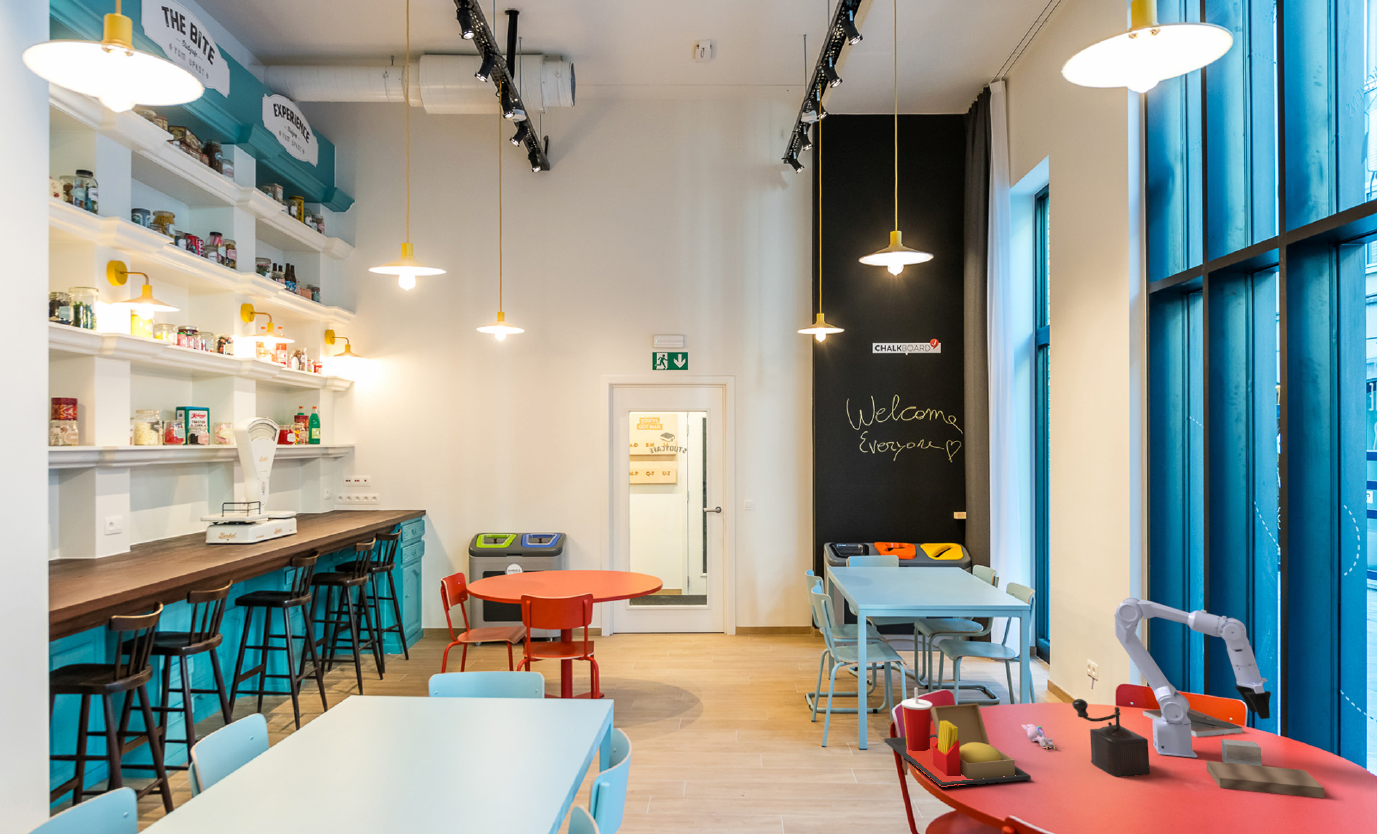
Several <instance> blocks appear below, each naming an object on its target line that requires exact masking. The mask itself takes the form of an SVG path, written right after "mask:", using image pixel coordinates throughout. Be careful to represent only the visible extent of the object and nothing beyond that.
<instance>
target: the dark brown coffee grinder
mask: <svg viewBox="0 0 1377 834" xmlns="http://www.w3.org/2000/svg"><path fill="white" fill-rule="evenodd" d="M1071 704H1072V707H1073V709H1074V710H1075V711H1076V712H1077V714H1076V715H1077V717H1079V718H1082V719H1085V720H1086V721H1089V722H1094V723H1095V722H1096V723H1097V722H1098V723H1099V722H1104V721H1108V722H1107V724H1108V725H1107V726H1102V727H1100V728H1090V729H1089V732H1090V733H1089V734H1090V736H1089V737H1090V751H1091V755H1090V756H1091V760H1090V763H1092V764H1093V765H1094V766H1095V767H1096V766H1097V767H1096V768H1097V769H1099V770H1101V769H1102V771H1103V772H1105V773H1106V774H1108V775H1110V776H1113V777H1115V778H1116V777H1117V778H1123V777H1122V776H1127V777H1135V775H1138V776H1144V775H1143V774H1146V775H1150V774H1151V768H1150V756H1149V755H1150V754H1149V740H1148V738H1146V737H1144V736H1142V735H1141V734H1138V733H1136V732H1134V731H1132V730H1129V729H1127V728H1126V727H1124V726H1122V725H1121V724H1120V723H1121V722H1120V716H1121V712H1120V711H1121V710H1120V707H1119V706H1116V707H1114V713H1113V714H1111V715H1108V716H1104V717H1096V718H1092V717H1088V716H1089V713H1088V712H1087V709H1088V707H1089V706H1088V705H1089V704H1088V702H1087V701H1086V700H1085V699H1082V698H1077V699H1075V700H1073V702H1072V703H1071ZM1113 719H1115V724H1112V722H1110V721H1109V720H1113ZM1120 776H1121V777H1120Z"/></svg>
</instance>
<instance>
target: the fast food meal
mask: <svg viewBox="0 0 1377 834" xmlns="http://www.w3.org/2000/svg"><path fill="white" fill-rule="evenodd" d="M913 690H914V698H908V699H903V700H901V703H900V704H901V707H902V714H903V715H902V716H903V724H904V725H903V726H904V730H905V731H904V732H905V736H901V737H888V738H884V743H886V745H888V746H889V747H890V748H892V749H893V750H894V751H895V752H897V753H898V754H899V755H900V756H901V757H902V758H903V759H905V760H906V761H907V762H909V761H910V762H911V763H912V764H914V765H915V766H917V767H918V768H919V769H921V770H922V771H924V772H925V773H926V774H927V775H928V776H930V777H931V778H932V779H933V780H934V781H935V782H937V783H938V784H940V785H941V786H947V785H954V784H957V785H958V784H977V785H986V783H988V784H997V783H996V782H998V783H1007V782H1008V783H1009V782H1019V781H1028V780H1029V781H1030V780H1032V776H1031V775H1030V774H1029V773H1027V772H1025V771H1024V770H1022V769H1021V768H1019V767H1018V766H1016V765H1015V759H1014V758H1012V757H1010V756H1009V755H1008V754H1006V753H1004V751H1001V750H999V748H996V747H995V746H993V745H992V744H991V742H990V741H989V737H988V733H987V730H986V726H985V723H984V719H983V717H982V713H981V708H980V706H979V703H978V702H976V703H964V704H963V703H962V704H953V705H952V704H951V705H950V704H949V705H937V706H933V703H932V702H931V701H929V700H925V699H920V698H919V688H918V687H914V689H913ZM932 722H933V725H934V726H933V727H934V730H935V734H931V727H932V726H931V725H932ZM932 737H936V738H938V740H937V741H936V742H935V743H934V745H933V746H932V748H933V765H934V766H935V767H936V768H937V769H939V770H940V771H942V772H943V773H944V774H945V775H946V776H961V774H962V775H964V776H965V777H966V778H967V779H973V780H962V781H951V782H942V781H941V780H939V779H938V778H937V777H936V776H934V775H933V774H932V773H931V772H929V771H928V770H927V769H926V768H924V767H923V766H922V765H921V764H920V763H918V762H917V761H916V760H915V759H913V758H912V757H911V756H910V755H908V754H907V753H906V746H907V749H909V750H912V751H926V750H928V749H930V738H932ZM910 762H909V763H910ZM911 763H910V764H911ZM912 764H911V765H912ZM914 765H913V766H914ZM915 766H914V767H915ZM1015 775H1016V776H1015ZM1003 776H1005V777H1003ZM983 778H984V779H983Z"/></svg>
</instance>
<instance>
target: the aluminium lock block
mask: <svg viewBox="0 0 1377 834" xmlns="http://www.w3.org/2000/svg"><path fill="white" fill-rule="evenodd" d="M1220 740H1221V742H1220V743H1221V759H1222V761H1221V762H1223V763H1234V764H1245V765H1256V766H1263V761H1262V747H1261V746H1260V745H1259V744H1258V742H1256V741H1251V740H1250V741H1248V740H1238V739H1237V740H1236V739H1227V738H1226V739H1225V738H1221V739H1220Z"/></svg>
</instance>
